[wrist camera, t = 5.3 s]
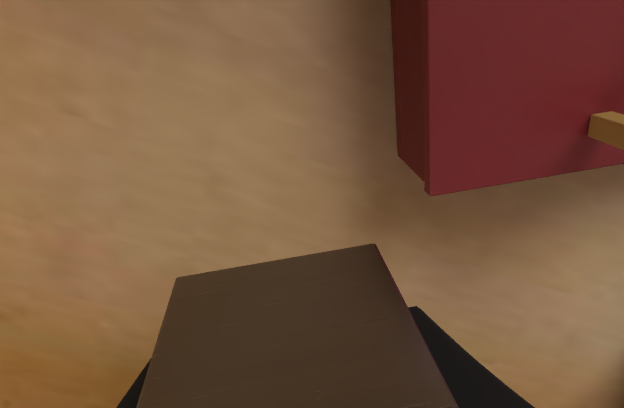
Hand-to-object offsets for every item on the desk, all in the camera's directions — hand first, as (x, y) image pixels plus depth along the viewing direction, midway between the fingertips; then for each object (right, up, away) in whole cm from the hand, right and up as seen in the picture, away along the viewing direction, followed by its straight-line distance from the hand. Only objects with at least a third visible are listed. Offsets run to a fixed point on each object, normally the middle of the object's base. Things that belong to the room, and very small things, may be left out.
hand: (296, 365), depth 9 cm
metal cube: (0, 0, +1) cm, 1 cm away
